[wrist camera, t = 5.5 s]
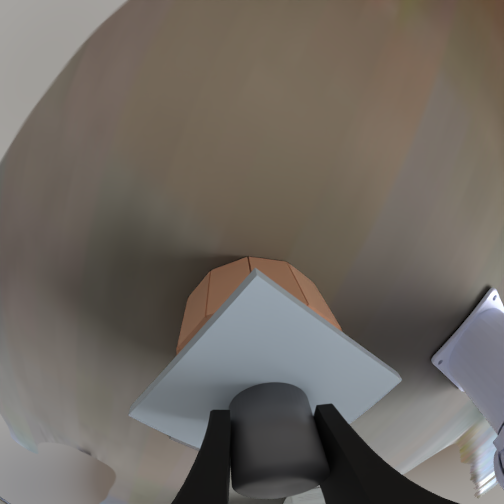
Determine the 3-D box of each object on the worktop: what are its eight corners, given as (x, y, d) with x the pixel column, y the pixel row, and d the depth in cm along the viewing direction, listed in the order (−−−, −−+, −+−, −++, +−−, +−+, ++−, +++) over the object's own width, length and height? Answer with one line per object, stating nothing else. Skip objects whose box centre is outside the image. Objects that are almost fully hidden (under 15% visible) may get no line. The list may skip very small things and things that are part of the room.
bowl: (346, 308, 17) (376, 354, 13) (261, 387, 19) (269, 439, 14) (245, 228, 15) (252, 261, 11) (161, 330, 17) (145, 383, 12)
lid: (396, 371, 12) (438, 435, 8) (273, 464, 13) (282, 525, 9) (254, 267, 9) (275, 349, 5) (131, 405, 11) (110, 481, 7)
